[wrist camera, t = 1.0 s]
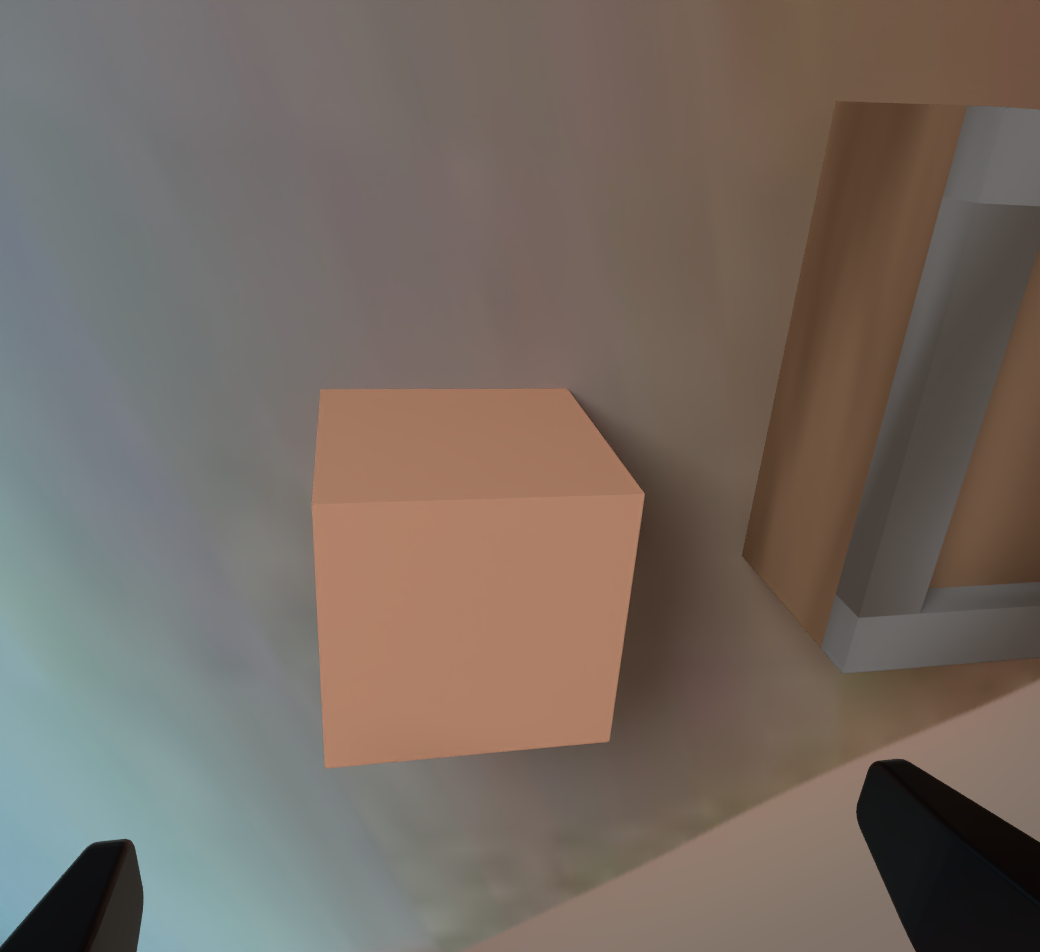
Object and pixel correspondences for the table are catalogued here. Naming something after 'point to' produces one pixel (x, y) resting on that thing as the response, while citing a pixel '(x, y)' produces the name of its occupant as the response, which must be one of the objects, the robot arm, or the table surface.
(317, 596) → the top brick
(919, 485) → the grey square frame
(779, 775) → the table surface
